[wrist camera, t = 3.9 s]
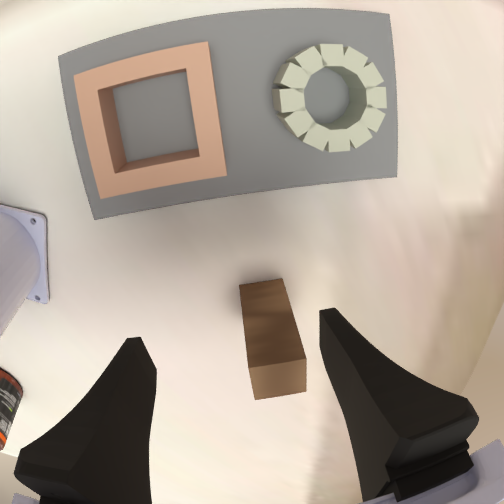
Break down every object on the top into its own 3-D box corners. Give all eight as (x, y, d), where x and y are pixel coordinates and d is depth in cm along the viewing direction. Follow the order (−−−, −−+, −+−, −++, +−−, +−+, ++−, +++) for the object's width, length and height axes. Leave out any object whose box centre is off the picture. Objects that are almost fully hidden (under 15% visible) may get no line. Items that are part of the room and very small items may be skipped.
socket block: (99, 214, 20) (80, 237, 17) (65, 56, 15) (37, 54, 12) (390, 172, 21) (415, 189, 18) (382, 16, 15) (409, 8, 12)
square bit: (244, 317, 26) (254, 400, 19) (239, 285, 24) (248, 368, 17) (284, 311, 26) (306, 391, 19) (282, 278, 24) (306, 358, 17)
